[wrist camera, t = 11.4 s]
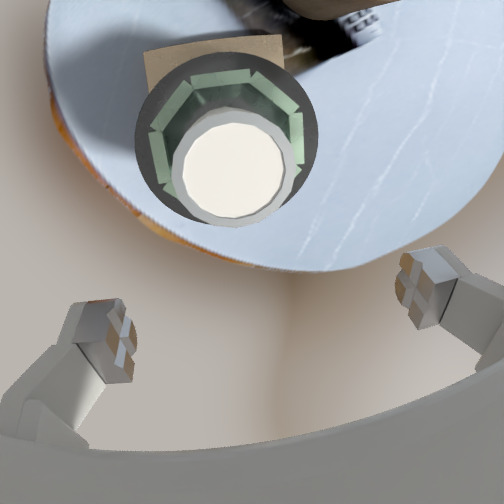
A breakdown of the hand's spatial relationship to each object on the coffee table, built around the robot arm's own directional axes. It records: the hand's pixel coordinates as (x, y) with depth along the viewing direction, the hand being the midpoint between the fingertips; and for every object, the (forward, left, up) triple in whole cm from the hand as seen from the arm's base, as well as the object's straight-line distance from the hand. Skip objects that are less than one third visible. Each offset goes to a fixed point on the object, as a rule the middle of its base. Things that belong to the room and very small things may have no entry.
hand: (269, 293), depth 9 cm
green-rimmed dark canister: (0, 0, -29) cm, 29 cm away
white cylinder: (0, 0, -17) cm, 17 cm away
